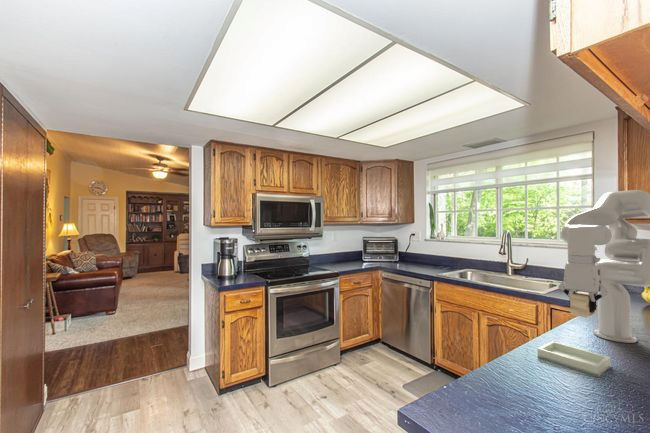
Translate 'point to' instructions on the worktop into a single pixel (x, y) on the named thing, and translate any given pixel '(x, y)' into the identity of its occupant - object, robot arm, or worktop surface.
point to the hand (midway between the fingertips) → (582, 309)
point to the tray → (575, 358)
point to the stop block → (580, 304)
